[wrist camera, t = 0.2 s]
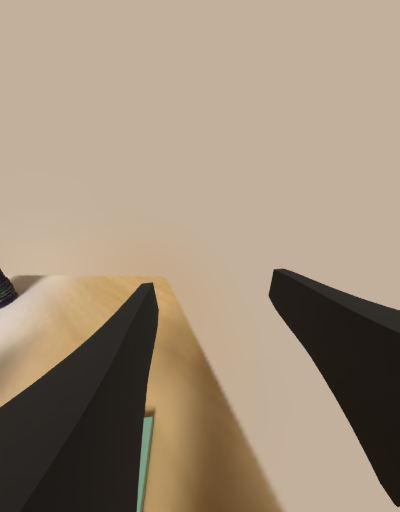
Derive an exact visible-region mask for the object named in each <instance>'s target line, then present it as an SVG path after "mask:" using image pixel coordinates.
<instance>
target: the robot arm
mask: <svg viewBox="0 0 400 512" xmlns="http://www.w3.org/2000/svg"><path fill="white" fill-rule="evenodd" d="M269 298H270V299H271V302H272V303H273V305H274V307H275V309H276V310H277V312H278V313H279V315H280V316H281V317H282V319H283V320H284V321H285V323H286V324H287V325H288V327H289V328H290V329H291V331H292V332H293V333H294V334H295V336H296V337H297V339H298V340H299V341H300V342H301V344H302V345H303V346H304V348H305V349H306V351H307V352H308V353H309V355H310V357H311V358H312V360H313V361H314V363H315V365H316V366H317V368H318V369H319V371H320V372H321V374H322V376H323V377H324V379H325V381H326V382H327V384H328V386H329V388H330V389H331V391H332V393H333V394H334V396H335V398H336V399H337V401H338V403H339V405H340V407H341V408H342V410H343V412H344V414H345V416H346V417H347V419H348V421H349V423H350V425H351V426H352V428H353V430H354V432H355V434H356V436H357V438H358V440H359V442H360V444H361V446H362V448H363V450H364V451H365V453H366V455H367V457H368V459H369V461H370V463H371V465H372V467H373V469H374V471H375V473H376V475H377V477H378V480H379V481H380V484H381V485H382V486H383V488H384V489H385V491H386V492H387V494H388V495H389V497H390V498H391V500H392V501H393V503H394V504H395V505H396V506H397V507H400V310H396V309H393V308H389V307H386V306H383V305H380V304H377V303H374V302H371V301H367V300H364V299H361V298H358V297H355V296H353V295H350V294H348V293H345V292H342V291H339V290H337V289H334V288H332V287H329V286H326V285H324V284H322V283H319V282H317V281H314V280H312V279H309V278H307V277H305V276H302V275H300V274H297V273H295V272H292V271H289V270H286V269H274V271H273V277H272V282H271V286H270V291H269ZM158 312H159V309H158V305H157V300H156V295H155V290H154V285H153V283H144V284H141V285H140V286H139V287H138V288H137V290H136V291H135V292H134V293H133V294H132V295H131V296H130V297H129V299H128V300H127V301H126V302H125V303H124V304H123V305H122V306H121V307H120V308H119V310H118V311H117V312H116V313H115V314H114V315H113V316H112V317H111V318H110V319H109V320H108V321H107V322H106V323H105V324H104V325H103V326H102V327H101V328H100V329H99V330H98V331H96V332H95V333H94V334H93V335H92V336H91V337H90V338H89V339H88V340H87V341H85V342H84V343H83V344H82V345H81V346H80V347H78V348H77V349H76V350H75V351H74V352H73V353H71V354H70V355H69V356H68V357H66V358H65V359H64V360H63V361H61V362H60V363H59V364H57V365H56V366H55V367H54V368H52V369H51V370H50V371H49V372H47V373H46V374H45V375H44V376H42V377H41V378H40V379H38V380H37V381H36V382H34V383H33V384H32V385H30V386H29V387H28V388H26V389H25V390H24V391H22V392H21V393H20V394H18V395H17V396H15V397H14V398H13V399H11V400H10V401H9V402H7V403H6V404H4V405H3V406H2V407H0V512H137V501H138V486H139V472H140V459H141V446H142V434H143V423H144V412H145V402H146V392H147V383H148V376H149V370H150V365H151V359H152V354H153V349H154V343H155V338H156V333H157V326H158Z"/></svg>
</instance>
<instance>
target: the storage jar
mask: <svg viewBox="0 0 400 512" xmlns="http://www.w3.org/2000/svg"><path fill="white" fill-rule="evenodd" d="M17 297H18V294H17V292H15V289H14V286H13V285H12V283H11V282H10V280H9V279H8V278H7V277H5V276H4V274H3V272H2V271H1V269H0V309H1V308H3V307H5V306H7V305H9V304H10V303H12V302H13V301H14V300H15V299H16V298H17Z"/></svg>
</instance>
